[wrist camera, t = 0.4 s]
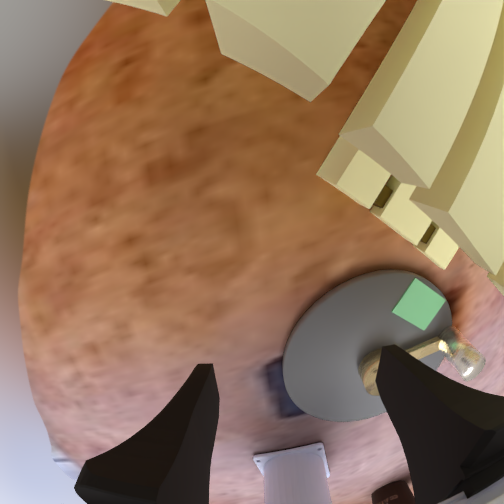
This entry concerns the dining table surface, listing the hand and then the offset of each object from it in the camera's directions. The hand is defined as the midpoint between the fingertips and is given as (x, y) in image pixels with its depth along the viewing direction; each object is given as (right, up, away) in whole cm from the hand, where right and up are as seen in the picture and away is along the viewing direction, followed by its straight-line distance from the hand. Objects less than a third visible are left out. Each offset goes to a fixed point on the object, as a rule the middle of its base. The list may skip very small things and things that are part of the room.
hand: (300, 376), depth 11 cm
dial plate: (+9, -4, +12) cm, 15 cm away
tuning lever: (+12, -3, +10) cm, 16 cm away
